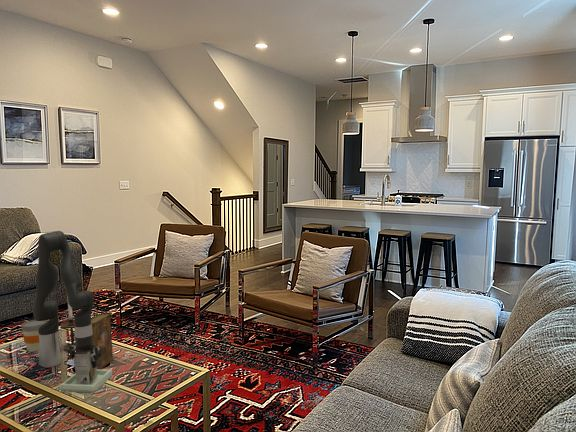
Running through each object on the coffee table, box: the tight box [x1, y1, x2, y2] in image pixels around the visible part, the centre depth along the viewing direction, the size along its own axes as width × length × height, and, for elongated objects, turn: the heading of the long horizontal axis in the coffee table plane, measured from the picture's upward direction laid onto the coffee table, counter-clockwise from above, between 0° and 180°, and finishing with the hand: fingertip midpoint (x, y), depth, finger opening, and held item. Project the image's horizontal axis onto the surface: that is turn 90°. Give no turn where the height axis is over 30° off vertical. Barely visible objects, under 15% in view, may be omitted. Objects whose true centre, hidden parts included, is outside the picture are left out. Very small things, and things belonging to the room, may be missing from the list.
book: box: [91, 312, 114, 370], centre depth 220 cm, size 16×6×25 cm, turn 168°
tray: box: [59, 369, 113, 394], centre depth 203 cm, size 16×16×3 cm
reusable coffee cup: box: [21, 319, 48, 353], centre depth 244 cm, size 13×13×15 cm
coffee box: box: [74, 345, 97, 385], centre depth 202 cm, size 9×6×16 cm
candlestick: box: [59, 295, 76, 352], centre depth 242 cm, size 11×11×35 cm
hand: (86, 367), depth 202 cm, fingers open, 8 cm apart
